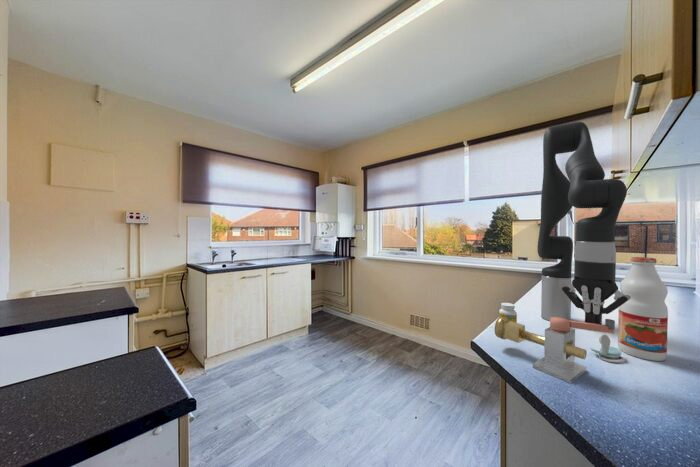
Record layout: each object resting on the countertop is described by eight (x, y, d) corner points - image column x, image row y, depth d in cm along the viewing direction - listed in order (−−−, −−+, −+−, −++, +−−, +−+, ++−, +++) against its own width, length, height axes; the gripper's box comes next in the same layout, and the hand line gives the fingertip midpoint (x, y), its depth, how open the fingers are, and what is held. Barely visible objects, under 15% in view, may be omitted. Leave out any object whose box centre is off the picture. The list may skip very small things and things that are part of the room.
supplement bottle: (508, 327, 94) (509, 301, 94) (520, 333, 88) (520, 306, 88) (495, 328, 93) (495, 302, 93) (506, 334, 88) (506, 307, 87)
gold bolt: (505, 334, 81) (505, 314, 81) (589, 363, 64) (589, 338, 64) (494, 339, 78) (494, 318, 77) (579, 371, 60) (579, 344, 60)
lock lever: (610, 333, 63) (611, 318, 63) (618, 339, 60) (618, 323, 59) (548, 324, 69) (548, 310, 69) (552, 329, 65) (552, 315, 65)
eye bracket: (549, 357, 72) (550, 320, 72) (586, 370, 66) (587, 330, 65) (532, 367, 67) (533, 328, 67) (570, 383, 60) (571, 339, 60)
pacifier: (632, 363, 70) (606, 352, 75) (634, 341, 69) (608, 331, 75) (610, 365, 68) (586, 354, 74) (612, 343, 68) (587, 333, 74)
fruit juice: (653, 349, 77) (655, 256, 76) (676, 365, 68) (679, 260, 67) (611, 343, 81) (613, 255, 80) (628, 357, 72) (630, 258, 71)
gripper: (637, 261, 60) (635, 333, 61) (567, 255, 72) (566, 316, 72) (628, 263, 57) (626, 340, 57) (556, 257, 68) (555, 322, 68)
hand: (593, 327), depth 65 cm, fingers closed
